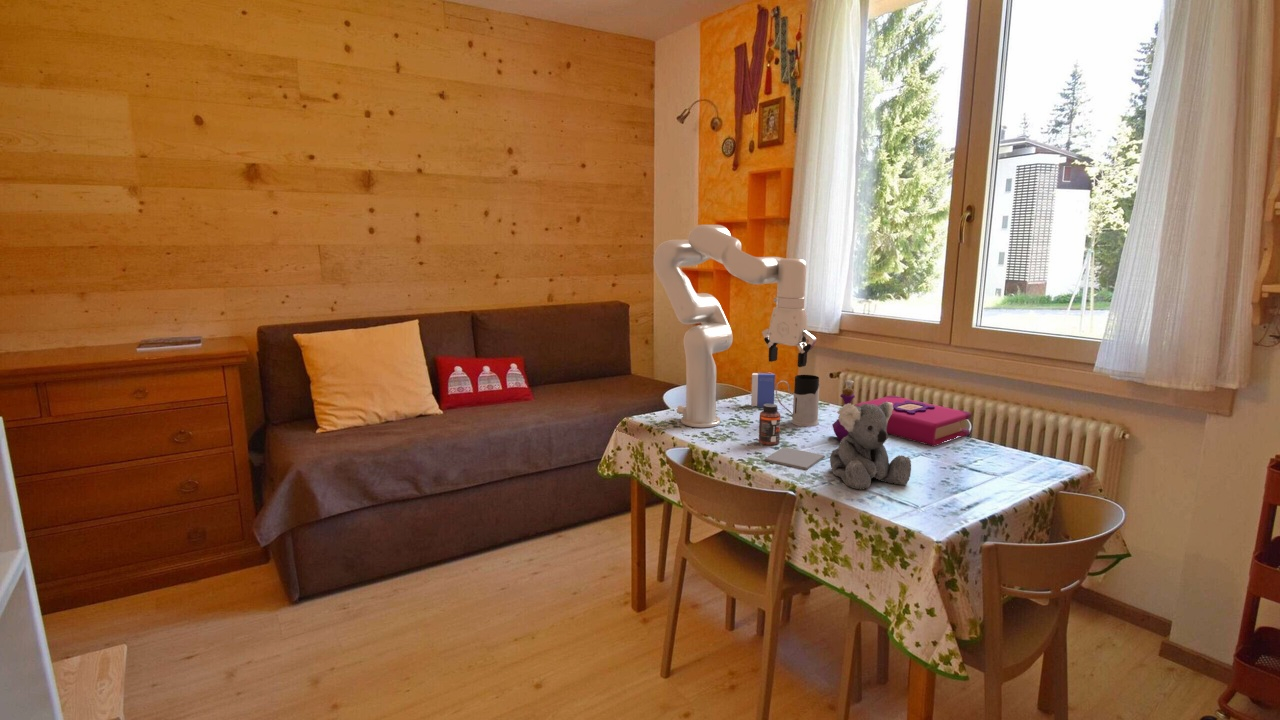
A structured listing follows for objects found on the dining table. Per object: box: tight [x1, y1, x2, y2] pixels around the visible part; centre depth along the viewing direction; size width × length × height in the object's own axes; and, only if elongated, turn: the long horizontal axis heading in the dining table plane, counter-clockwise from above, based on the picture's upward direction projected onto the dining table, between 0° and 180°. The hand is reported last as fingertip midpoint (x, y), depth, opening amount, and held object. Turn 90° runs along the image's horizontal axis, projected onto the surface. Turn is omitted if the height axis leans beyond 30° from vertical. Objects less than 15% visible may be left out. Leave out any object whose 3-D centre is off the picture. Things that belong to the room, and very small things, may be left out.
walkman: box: [750, 371, 776, 408], centre depth 233 cm, size 8×3×12 cm, turn 85°
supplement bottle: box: [758, 403, 781, 446], centre depth 193 cm, size 6×6×11 cm
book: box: [854, 394, 972, 447], centre depth 206 cm, size 21×28×8 cm
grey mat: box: [764, 446, 826, 471], centre depth 180 cm, size 12×12×1 cm
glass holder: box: [775, 374, 820, 428], centre depth 213 cm, size 9×14×15 cm, turn 89°
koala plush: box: [829, 402, 912, 490], centre depth 166 cm, size 17×18×20 cm
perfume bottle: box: [831, 380, 856, 442], centre depth 195 cm, size 8×8×18 cm
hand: (787, 363), depth 188 cm, fingers open, 9 cm apart
